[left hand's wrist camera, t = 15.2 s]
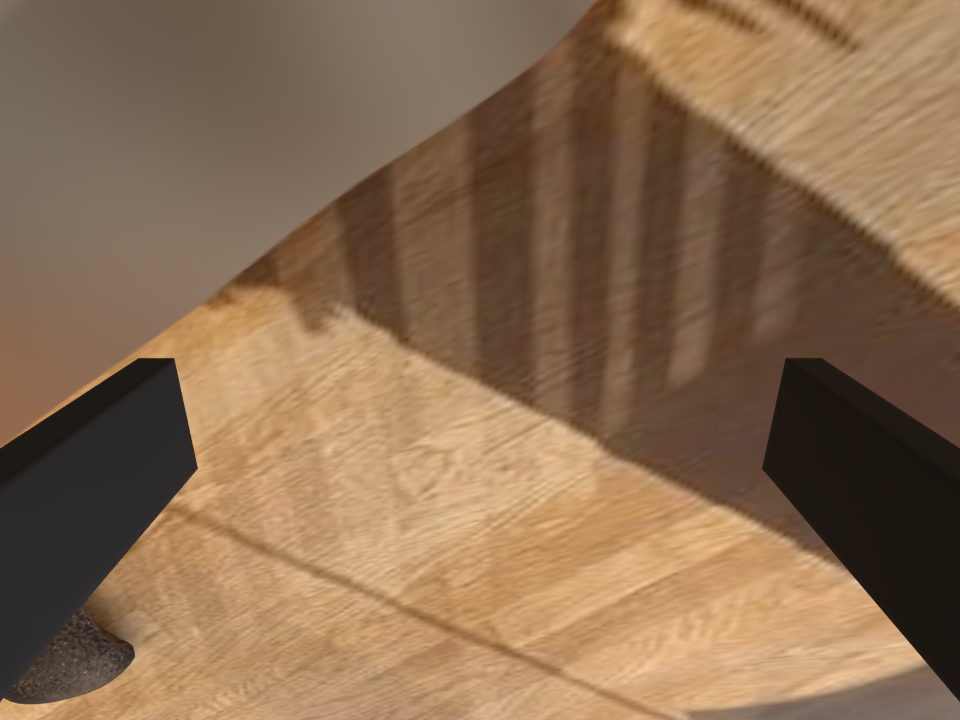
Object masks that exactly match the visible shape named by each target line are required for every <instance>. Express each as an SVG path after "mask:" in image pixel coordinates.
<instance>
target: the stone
mask: <svg viewBox="0 0 960 720" xmlns="http://www.w3.org/2000/svg"><path fill="white" fill-rule="evenodd" d="M134 658H135V653H134V649H133V645H131V644H130V643H128V642H126V641H123V640H119V639H118V638H116V637H114V636H112V635H110V634H108V633H106V632H104V631H103V630H102V629H101V628H100V627H99V626H98V625H97V624H96V623H95V620H94V617H93V615H92V614H91V613H90V612H89V609H88V607H87V605H86V603H85V602H84V604H83V605H82V606H81V607H80V608H79V609H78V611H77V612H76V613H75V614H74V615H73V617H72V618H71V619H70V620H69V621H68V622H67V624H66V625H65V626H64V627H63V628H62V630H61V631H60V632H59V633H58V634H57V635H56V637H55V638H54V639H53V640H52V641H51V642H50V644H49V645H48V646H47V647H46V648H45V650H44V651H43V652H42V653H41V654H40V655H39V657H38V658H37V659H36V660H35V661H34V663H33V664H32V665H31V666H30V667H29V668H28V670H27V671H26V672H25V673H24V674H23V676H22V677H21V678H20V679H19V680H18V681H17V683H16V684H15V685H14V686H13V687H12V689H11V690H10V691H9V692H8V693H7V694H6V696H5V697H4V698H5V699H6V700H9V701H10V702H15V703H19V704H43V703H51V702H56V701H61V700H65V699H69V698H73V697H77V696H80V695H84V694H86V693H89V692H92V691H94V690H97V689H99V688H101V687H103V686H105V685H106V684H108V683H109V682H111V681H112V680H113V679H115V678H116V677H117V676H119V675H120V674H121V673H122V672H123V671H124V670H125V669H126V668H127V667H128V666H129V665H130V664H131V662H132V661H133V659H134Z"/></svg>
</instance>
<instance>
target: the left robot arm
mask: <svg viewBox="0 0 960 720" xmlns="http://www.w3.org/2000/svg"><path fill="white" fill-rule="evenodd" d="M197 469H198V467H197V462H196V458H195V453H194V448H193V444H192V439H191V434H190V430H189V425H188V420H187V416H186V411H185V406H184V402H183V397H182V392H181V388H180V383H179V378H178V374H177V369H176V364H175V360H174V358H138V359H137V360H135V361H134V362H132V363H130V364H129V365H127V366H126V367H124V368H123V369H121V370H120V371H118V372H117V373H115V374H114V375H112V376H111V377H109V378H107V379H106V380H104V381H103V382H101V383H100V384H98V385H97V386H95V387H94V388H92V389H91V390H89V391H88V392H86V393H84V394H83V395H81V396H80V397H78V398H77V399H75V400H74V401H72V402H71V403H69V404H68V405H66V406H65V407H63V408H61V409H60V410H58V411H57V412H55V413H54V414H52V415H51V416H49V417H48V418H46V419H45V420H43V421H42V422H40V423H38V424H37V425H35V426H34V427H32V428H31V429H29V430H28V431H26V432H25V433H23V434H22V435H20V436H19V437H17V438H15V439H14V440H12V441H11V442H9V443H8V444H6V445H5V446H3V447H2V448H0V702H1V700H2V699H3V698H4V697H5V696H6V694H7V693H8V692H9V691H10V690H11V689H12V687H13V686H14V685H15V684H16V683H17V681H18V680H19V679H20V678H21V677H22V676H23V674H24V673H25V672H26V671H27V670H28V668H29V667H30V666H31V665H32V664H33V663H34V661H35V660H36V659H37V658H38V657H39V655H40V654H41V653H42V652H43V651H44V650H45V648H46V647H47V646H48V645H49V644H50V642H51V641H52V640H53V639H54V638H55V637H56V635H57V634H58V633H59V632H60V631H61V630H62V628H63V627H64V626H65V625H66V624H67V622H68V621H69V620H70V619H71V618H72V617H73V615H74V614H75V613H76V612H77V611H78V609H79V608H80V607H81V606H82V605H83V604H84V602H85V601H86V600H87V599H88V598H89V596H90V595H91V594H92V593H93V592H94V591H95V589H96V588H97V587H98V586H99V585H100V583H101V582H102V581H103V580H104V579H105V578H106V576H107V575H108V574H109V573H110V572H111V570H112V569H113V568H114V567H115V566H116V565H117V563H118V562H119V561H120V560H121V559H122V558H123V556H124V555H125V554H126V553H127V552H128V550H129V549H130V548H131V547H132V546H133V545H134V543H135V542H136V541H137V540H138V539H139V537H140V536H141V535H142V534H143V533H144V532H145V530H146V529H147V528H148V527H149V526H150V524H151V523H152V522H153V521H154V520H155V519H156V517H157V516H158V515H159V514H160V513H161V511H162V510H163V509H164V508H165V507H166V506H167V504H168V503H169V502H170V501H171V500H172V498H173V497H174V496H175V495H176V494H177V493H178V491H179V490H180V489H181V488H182V487H183V486H184V484H185V483H186V482H187V481H188V480H189V478H190V477H191V476H192V475H193V474H194V473H195V471H196V470H197ZM762 469H763V470H764V471H765V473H766V474H767V475H768V476H769V477H770V478H771V480H772V481H773V482H774V483H775V484H776V486H777V487H778V488H779V489H780V490H781V491H782V493H783V494H784V495H785V496H786V497H787V498H788V500H789V501H790V502H791V503H792V504H793V506H794V507H795V508H796V509H797V510H798V511H799V513H800V514H801V515H802V516H803V517H804V519H805V520H806V521H807V522H808V523H809V524H810V526H811V527H812V528H813V529H814V530H815V532H816V533H817V534H818V535H819V536H820V537H821V539H822V540H823V541H824V542H825V543H826V545H827V546H828V547H829V548H830V549H831V550H832V552H833V553H834V554H835V555H836V556H837V558H838V559H839V560H840V561H841V562H842V563H843V565H844V566H845V567H846V568H847V569H848V570H849V572H850V573H851V574H852V575H853V576H854V578H855V579H856V580H857V581H858V582H859V583H860V585H861V586H862V587H863V588H864V589H865V591H866V592H867V593H868V594H869V595H870V596H871V598H872V599H873V600H874V601H875V602H876V604H877V605H878V606H879V607H880V608H881V609H882V611H883V612H884V613H885V614H886V615H887V617H888V618H889V619H890V620H891V621H892V622H893V624H894V625H895V626H896V627H897V628H898V630H899V631H900V632H901V633H902V634H903V635H904V637H905V638H906V639H907V640H908V641H909V642H910V644H911V645H912V646H913V647H914V648H915V650H916V651H917V652H918V653H919V654H920V655H921V657H922V658H923V659H924V660H925V661H926V663H927V664H928V665H929V666H930V667H931V668H932V670H933V671H934V672H935V673H936V674H937V676H938V677H939V678H940V679H941V680H942V681H943V683H944V684H945V685H946V686H947V687H948V689H949V690H950V691H951V692H952V693H953V694H954V696H955V697H956V698H957V699H958V700H959V701H960V448H958V447H957V446H955V445H954V444H952V443H951V442H949V441H948V440H946V439H945V438H943V437H941V436H940V435H938V434H937V433H935V432H934V431H932V430H931V429H929V428H928V427H926V426H925V425H923V424H922V423H920V422H918V421H917V420H915V419H914V418H912V417H911V416H909V415H908V414H906V413H905V412H903V411H902V410H900V409H899V408H897V407H895V406H894V405H892V404H891V403H889V402H888V401H886V400H885V399H883V398H882V397H880V396H879V395H877V394H876V393H874V392H872V391H871V390H869V389H868V388H866V387H865V386H863V385H862V384H860V383H859V382H857V381H856V380H854V379H853V378H851V377H849V376H848V375H846V374H845V373H843V372H842V371H840V370H839V369H837V368H836V367H834V366H833V365H831V364H830V363H828V362H826V361H825V360H823V359H822V358H786V360H785V364H784V369H783V374H782V378H781V383H780V388H779V392H778V397H777V402H776V406H775V411H774V416H773V420H772V425H771V430H770V434H769V439H768V444H767V448H766V453H765V458H764V462H763V467H762Z"/></svg>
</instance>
